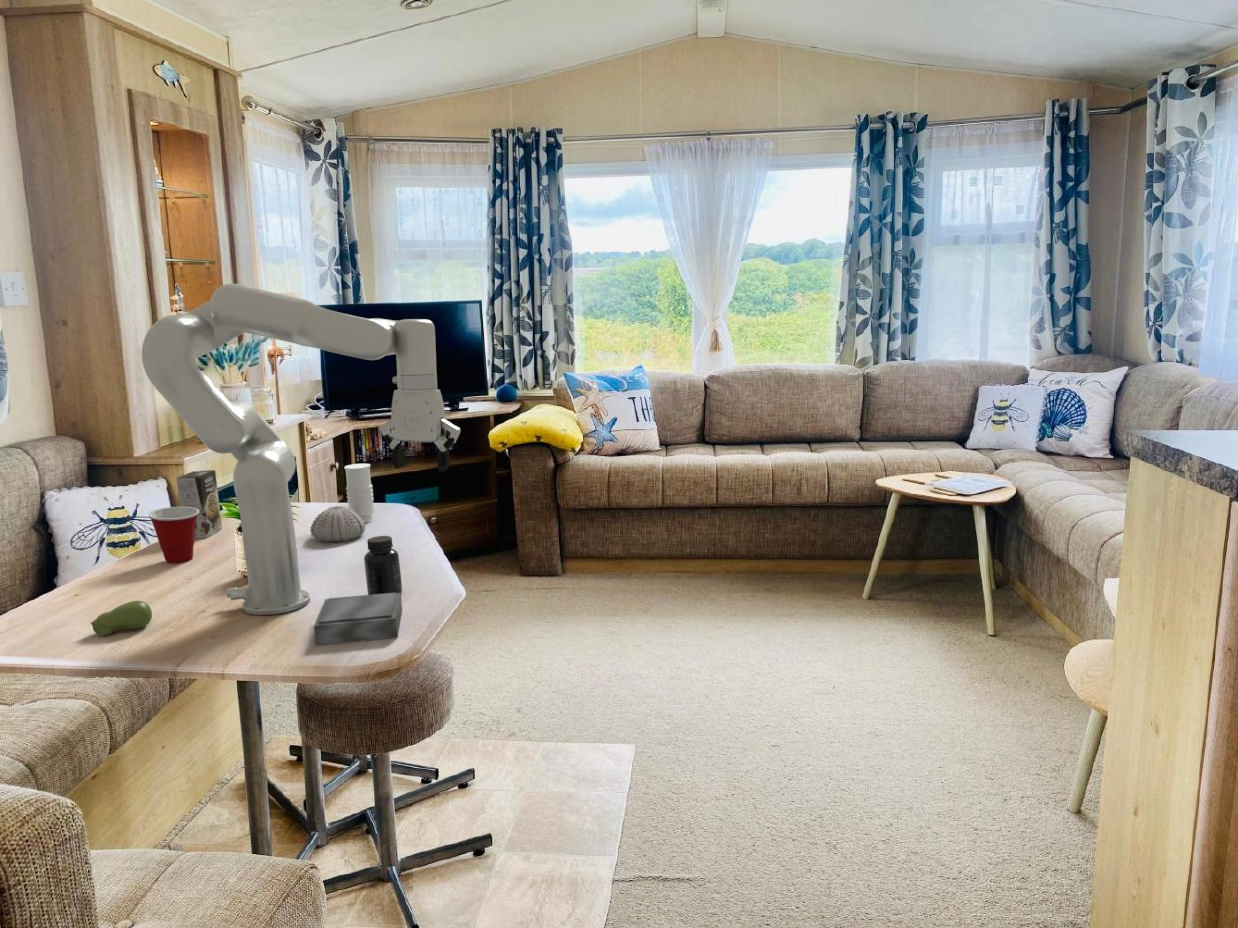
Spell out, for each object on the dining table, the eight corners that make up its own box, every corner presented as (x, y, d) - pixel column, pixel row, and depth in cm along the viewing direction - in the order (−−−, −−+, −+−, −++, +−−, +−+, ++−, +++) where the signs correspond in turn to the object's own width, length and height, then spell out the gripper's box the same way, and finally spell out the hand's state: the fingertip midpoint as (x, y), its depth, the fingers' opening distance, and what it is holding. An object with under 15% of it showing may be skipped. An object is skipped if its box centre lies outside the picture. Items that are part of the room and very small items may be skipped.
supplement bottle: (391, 587, 189) (386, 532, 187) (408, 594, 184) (404, 537, 182) (361, 596, 185) (356, 539, 182) (378, 603, 180) (373, 545, 177)
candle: (344, 523, 243) (339, 468, 240) (356, 517, 250) (351, 463, 247) (368, 523, 242) (363, 468, 239) (379, 517, 248) (374, 463, 246)
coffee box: (207, 538, 233) (200, 476, 230) (183, 539, 233) (174, 477, 230) (223, 528, 242) (216, 469, 239) (199, 529, 242) (191, 470, 239)
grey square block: (315, 645, 160) (313, 623, 159) (327, 617, 173) (325, 597, 172) (397, 637, 162) (395, 616, 161) (402, 610, 176) (400, 590, 175)
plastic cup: (186, 567, 208) (180, 517, 206) (144, 566, 210) (137, 516, 208) (215, 553, 219) (209, 505, 216) (174, 553, 220) (168, 504, 218)
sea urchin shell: (326, 530, 237) (323, 500, 235) (375, 530, 235) (372, 500, 233) (301, 545, 224) (298, 513, 223) (353, 545, 222) (350, 513, 221)
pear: (146, 601, 169) (86, 620, 165) (155, 627, 170) (96, 646, 166) (146, 593, 173) (88, 611, 170) (155, 618, 175) (98, 636, 171)
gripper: (368, 383, 177) (373, 470, 180) (448, 386, 172) (452, 475, 175) (388, 380, 184) (392, 463, 187) (466, 382, 179) (469, 467, 182)
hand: (421, 468), depth 181 cm, fingers open, 9 cm apart
